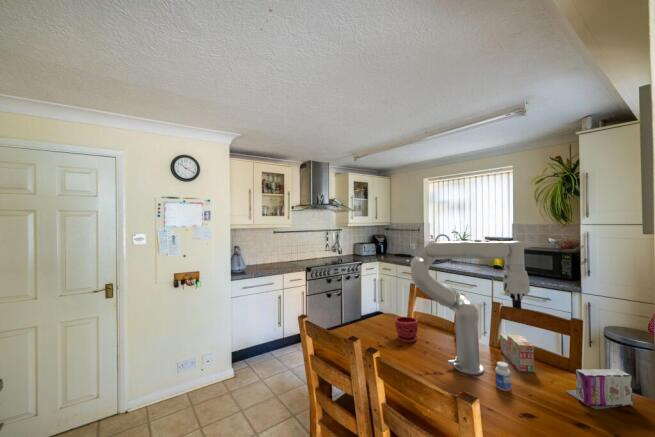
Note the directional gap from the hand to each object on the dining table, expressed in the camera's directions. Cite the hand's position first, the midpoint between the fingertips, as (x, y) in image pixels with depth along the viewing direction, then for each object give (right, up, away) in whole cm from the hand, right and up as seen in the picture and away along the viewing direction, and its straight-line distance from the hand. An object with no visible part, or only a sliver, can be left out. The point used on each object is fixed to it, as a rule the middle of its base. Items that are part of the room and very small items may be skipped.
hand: (516, 308), depth 127 cm
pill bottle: (-14, -29, -12) cm, 35 cm away
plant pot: (-39, -32, +40) cm, 64 cm away
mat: (+16, -28, -21) cm, 38 cm away
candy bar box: (+8, -22, -23) cm, 33 cm away
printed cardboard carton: (+7, -30, +10) cm, 32 cm away
